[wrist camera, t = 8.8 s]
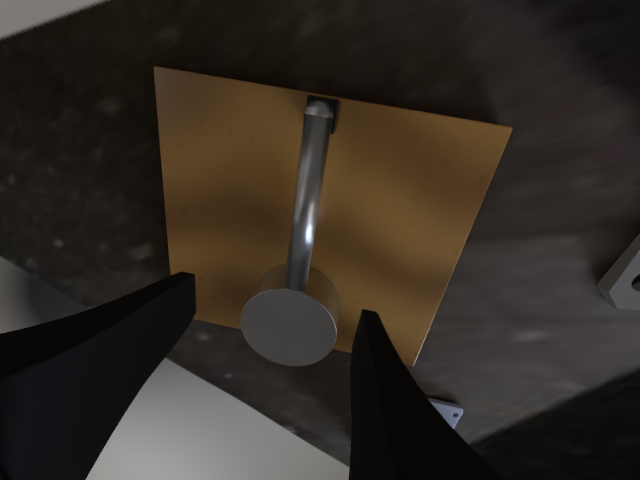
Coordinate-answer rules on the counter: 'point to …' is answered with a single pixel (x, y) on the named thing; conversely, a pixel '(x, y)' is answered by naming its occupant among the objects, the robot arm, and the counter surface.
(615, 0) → the counter surface
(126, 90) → the counter surface
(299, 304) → the grey disc-end rod
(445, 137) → the chopping board
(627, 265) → the kitchen cleaver
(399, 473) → the robot arm
